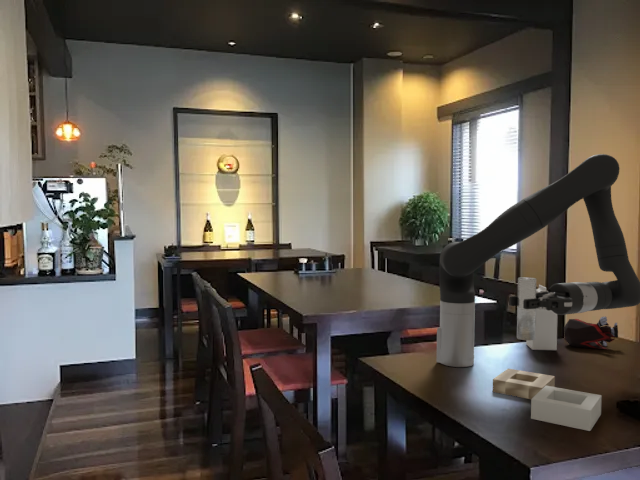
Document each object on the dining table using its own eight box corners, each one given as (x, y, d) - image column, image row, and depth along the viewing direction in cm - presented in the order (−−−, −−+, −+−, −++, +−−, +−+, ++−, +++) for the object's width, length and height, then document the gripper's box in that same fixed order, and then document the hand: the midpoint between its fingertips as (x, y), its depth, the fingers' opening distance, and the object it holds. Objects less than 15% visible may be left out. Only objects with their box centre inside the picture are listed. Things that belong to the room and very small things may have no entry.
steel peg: (514, 338, 131) (515, 278, 130) (519, 335, 135) (520, 276, 134) (532, 341, 129) (533, 279, 128) (537, 337, 132) (538, 278, 131)
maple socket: (492, 391, 131) (492, 379, 131) (507, 380, 140) (508, 368, 140) (541, 401, 125) (542, 388, 125) (554, 388, 134) (554, 376, 134)
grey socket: (530, 418, 115) (531, 399, 114) (545, 403, 124) (545, 385, 123) (590, 431, 108) (590, 410, 108) (600, 414, 117) (601, 395, 117)
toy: (616, 307, 172) (562, 308, 177) (620, 332, 165) (563, 332, 171) (615, 332, 179) (564, 332, 185) (619, 357, 172) (565, 356, 178)
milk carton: (549, 345, 177) (551, 284, 176) (556, 350, 170) (558, 287, 169) (526, 344, 178) (527, 284, 177) (532, 350, 171) (533, 287, 169)
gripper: (549, 279, 143) (496, 282, 136) (597, 286, 130) (541, 290, 123) (548, 308, 144) (495, 313, 137) (596, 318, 131) (540, 324, 124)
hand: (517, 302), depth 130 cm, fingers closed on steel peg, 4 cm apart
